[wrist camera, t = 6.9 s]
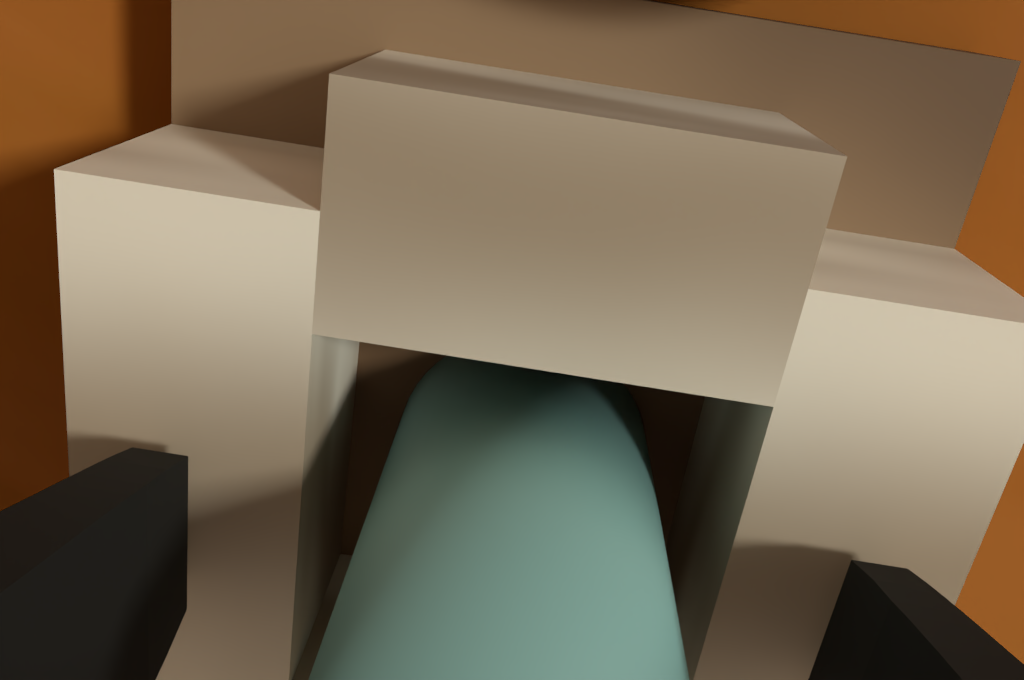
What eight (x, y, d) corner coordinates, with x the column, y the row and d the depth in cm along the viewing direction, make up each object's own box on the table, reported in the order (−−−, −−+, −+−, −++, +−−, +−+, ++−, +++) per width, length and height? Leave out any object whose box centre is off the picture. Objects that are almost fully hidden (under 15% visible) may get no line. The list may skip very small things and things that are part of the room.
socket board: (745, 740, 16) (800, 968, 12) (197, 655, 16) (89, 859, 12) (976, 52, 11) (1172, 90, 8) (209, -72, 11) (40, -93, 8)
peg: (631, 558, 13) (699, 1111, 7) (399, 541, 13) (248, 1073, 7) (659, 342, 12) (774, 780, 5) (400, 325, 12) (215, 734, 6)
